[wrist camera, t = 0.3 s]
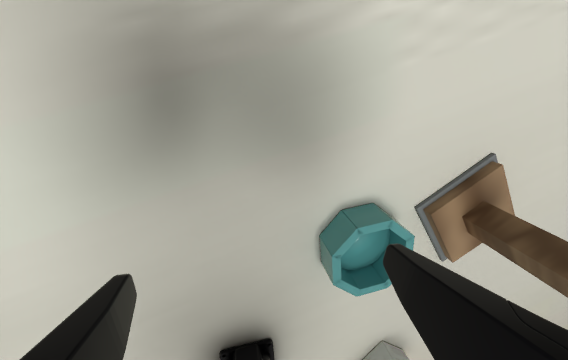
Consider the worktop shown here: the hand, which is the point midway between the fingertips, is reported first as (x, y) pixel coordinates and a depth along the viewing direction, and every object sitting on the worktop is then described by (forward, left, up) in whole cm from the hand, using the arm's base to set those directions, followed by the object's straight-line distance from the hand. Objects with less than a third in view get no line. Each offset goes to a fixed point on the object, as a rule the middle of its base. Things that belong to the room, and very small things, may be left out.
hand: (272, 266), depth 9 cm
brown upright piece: (-10, -26, -14) cm, 31 cm away
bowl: (-12, -12, -14) cm, 22 cm away
